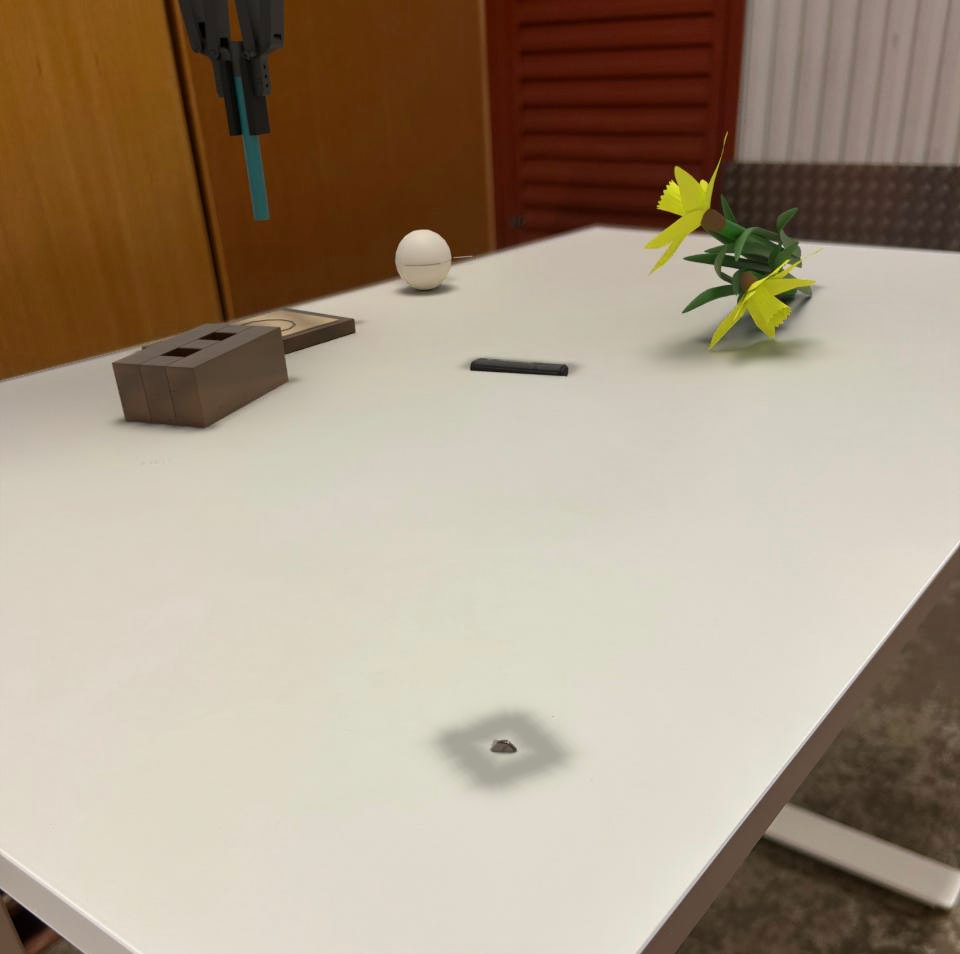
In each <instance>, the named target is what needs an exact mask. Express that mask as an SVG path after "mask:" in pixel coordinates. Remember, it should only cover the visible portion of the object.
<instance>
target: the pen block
mask: <svg viewBox="0 0 960 954" xmlns="http://www.w3.org/2000/svg"><path fill="white" fill-rule="evenodd" d="M164 340H165V341H164ZM164 340H162V341H163V342H160V341H159V342H160V343H158V344H155V345H153V346H151V347H148V348H146V349H143V350H142V349H141V350H139V351H136V352H133V353H132V354H129V355H127V356H124V357H123V358H120V359H117V360H115V361H112V362H111V366H112V371H113V375H114V379H115V384H116V387H117V391H118V395H119V396H118V397H119V400H120V405H121V408H122V412H123V413H122V414H123V416H124V420H125V421H124V422H131V423H140V424H141V423H142V424H154V425H164V426H165V425H166V426H175V427H177V426H178V427H186V428H187V427H189V428H199V429H206V428H208V427H210V426H212V425H214V424H215V423H217V422H219V421H221V420H222V419H224V418H226V417H228V416H230V415H231V414H234V413H235V412H237V411H239V410H240V409H242V408H244V407H245V406H248V405H250V404H251V403H253V402H255V401H256V400H258V399H260V398H261V397H264V396H265V395H267V394H269V393H270V392H272V391H274V390H276V389H277V388H280V387H281V386H283V385H285V384H286V383H288V382H289V381H290V380H289V373H288V368H287V367H288V366H287V360H286V354H285V353H284V346H283V340H282V333H281V327H272V326H249V325H230V324H226V323H209V322H208V323H206V322H205V323H203V324H201V325H198V326H196V327H194V328H192V329H189V330H187V331H184V332H182V333H179V334H177V335H174V336H173V337H169V338H167V339H164Z"/></svg>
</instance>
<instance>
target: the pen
mask: <svg viewBox="0 0 960 954" xmlns="http://www.w3.org/2000/svg"><path fill="white" fill-rule="evenodd" d="M228 44H229V51H230V58H231V59H230V60H231V65H232V72H233V77H234V82H235V89H236V96H237V103H238V110H239V117H240V124H241V130H242V135H241V137H242V143H243V149H244V150H243V151H244V157H245V162H246V163H245V164H246V171H247V172H246V173H247V178H248V185H249V186H248V187H249V192H250V198H251V205H252V212H253V219H254V220H255V221H267V220H269V219H271V217H270V209H269V202H268V196H267V188H266V181H265V174H264V165H263V158H262V152H261V145H260V137H259V136H260V135H251V136H250V134H249V127H248V120H247V113H246V106H245V99H244V92H243V86H242V79H241V72H240V65H239V60H247V58H244V57H243V56H242V55H241V52H245V50H244V45H243V40H231V41H229V42H228Z"/></svg>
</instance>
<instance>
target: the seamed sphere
mask: <svg viewBox="0 0 960 954" xmlns="http://www.w3.org/2000/svg"><path fill="white" fill-rule="evenodd" d="M472 257H473V255H465V256H463V258H472ZM460 258H462V256H454V257H452V253H451V249H450V246H449V245H448V243H447V242H446V240H445V239H444V238H443V237H442V236H441V235H440V234H439V233H437V232H435V231H432V230H431V229H416V230H412V231H411V232H409V233H408V234H406V235H405V236H404V237H403V238H402V239H401V240H400V242H399V243H398V246H397V248H396V252H395V261H394V263H395V267H396V271H397V273H398V275H399V276H400V278H401V280H403V282H405V283H406V285H408V286H409V287H411V288H414V289H416V290H418V291H419V290H420V291H426V290H433V289H435V288H436V287H438V286H440V285H442V284H443V282H444V281H446V279H447V278H448V276H449V273H450V270H451V269H452V268H451V267H452V260H453V259H460Z"/></svg>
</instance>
